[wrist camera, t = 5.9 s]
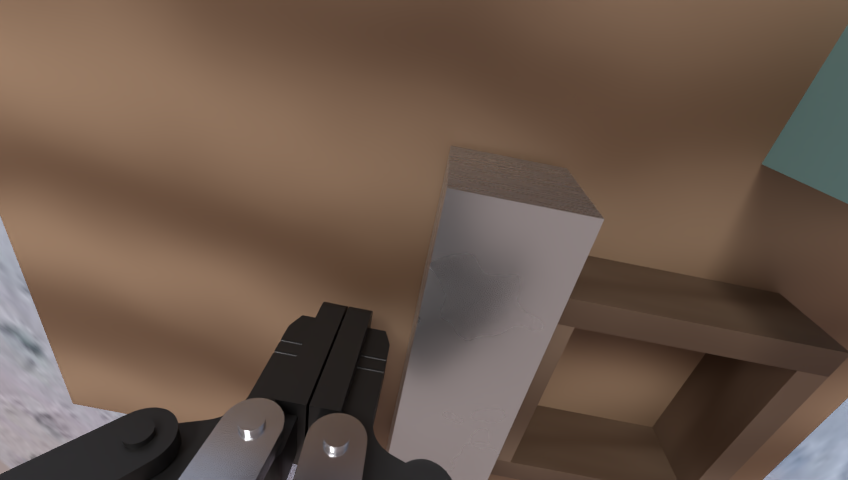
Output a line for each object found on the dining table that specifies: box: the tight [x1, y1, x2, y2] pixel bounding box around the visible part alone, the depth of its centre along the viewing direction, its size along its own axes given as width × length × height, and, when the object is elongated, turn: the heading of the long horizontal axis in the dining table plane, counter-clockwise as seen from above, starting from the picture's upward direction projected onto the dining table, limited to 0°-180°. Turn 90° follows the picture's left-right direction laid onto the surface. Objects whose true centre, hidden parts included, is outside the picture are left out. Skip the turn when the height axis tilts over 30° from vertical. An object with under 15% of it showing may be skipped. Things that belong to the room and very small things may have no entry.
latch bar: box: [386, 145, 604, 480], centre depth 12 cm, size 12×3×3 cm, turn 170°
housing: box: [0, 0, 848, 480], centre depth 12 cm, size 20×28×4 cm
